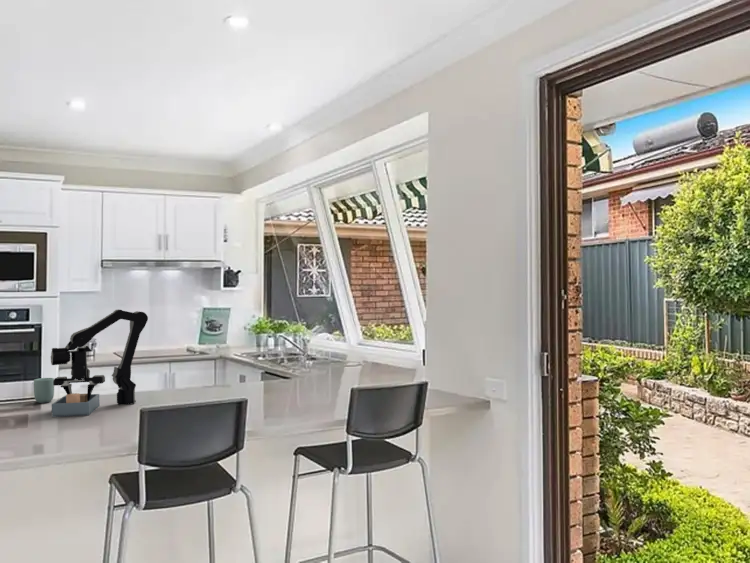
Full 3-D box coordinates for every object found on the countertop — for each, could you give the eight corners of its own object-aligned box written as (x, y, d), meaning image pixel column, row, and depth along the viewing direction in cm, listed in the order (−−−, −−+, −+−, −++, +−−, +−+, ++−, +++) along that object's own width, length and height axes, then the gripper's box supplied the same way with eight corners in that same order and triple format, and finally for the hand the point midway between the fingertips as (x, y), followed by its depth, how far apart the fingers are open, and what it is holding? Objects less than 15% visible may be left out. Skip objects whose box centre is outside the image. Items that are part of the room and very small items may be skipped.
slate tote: (99, 405, 281) (99, 393, 281) (88, 415, 262) (88, 402, 262) (65, 407, 278) (64, 395, 278) (51, 417, 259) (51, 404, 259)
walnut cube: (85, 407, 274) (84, 395, 274) (71, 408, 273) (71, 396, 273) (87, 405, 278) (87, 393, 278) (74, 406, 277) (74, 394, 277)
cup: (46, 404, 287) (45, 380, 287) (30, 403, 289) (29, 380, 288) (58, 400, 295) (57, 377, 295) (42, 400, 296) (42, 377, 296)
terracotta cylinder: (78, 413, 263) (78, 395, 263) (64, 413, 262) (64, 395, 262) (81, 410, 268) (81, 393, 268) (68, 411, 267) (67, 393, 267)
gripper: (107, 359, 285) (108, 396, 285) (60, 361, 282) (60, 399, 282) (101, 363, 274) (102, 401, 274) (52, 365, 271) (53, 403, 271)
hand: (79, 401), depth 276 cm, fingers open, 6 cm apart
